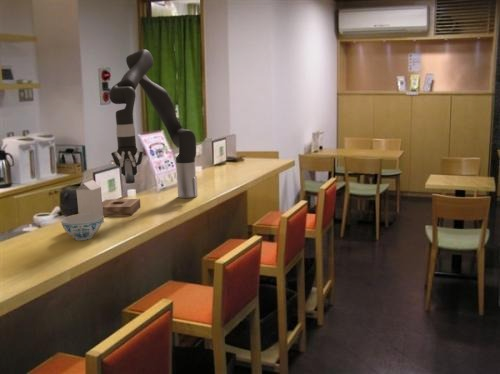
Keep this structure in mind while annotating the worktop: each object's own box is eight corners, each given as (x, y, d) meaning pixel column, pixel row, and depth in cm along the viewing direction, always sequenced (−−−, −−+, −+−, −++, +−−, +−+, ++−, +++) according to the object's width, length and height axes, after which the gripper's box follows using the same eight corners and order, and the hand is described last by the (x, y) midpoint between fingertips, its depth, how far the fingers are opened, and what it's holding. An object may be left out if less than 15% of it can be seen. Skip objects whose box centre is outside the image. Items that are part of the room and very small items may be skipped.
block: (140, 207, 269) (139, 198, 268) (131, 215, 253) (130, 206, 253) (106, 207, 270) (105, 199, 269) (95, 216, 254) (94, 207, 254)
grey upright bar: (136, 181, 250) (134, 158, 248) (133, 183, 246) (131, 160, 244) (126, 181, 250) (124, 158, 248) (124, 183, 246) (122, 160, 245)
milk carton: (104, 222, 244) (100, 177, 240) (94, 226, 237) (90, 180, 233) (89, 221, 246) (85, 177, 242) (79, 225, 239) (75, 180, 236)
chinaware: (93, 244, 212) (91, 223, 211) (55, 243, 215) (53, 223, 213) (110, 232, 227) (108, 213, 225) (74, 232, 229) (72, 213, 228)
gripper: (144, 133, 247) (148, 173, 251) (112, 134, 248) (115, 174, 252) (140, 135, 240) (143, 176, 244) (106, 136, 241) (110, 177, 245)
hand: (129, 175), depth 248 cm, fingers closed on grey upright bar, 4 cm apart
